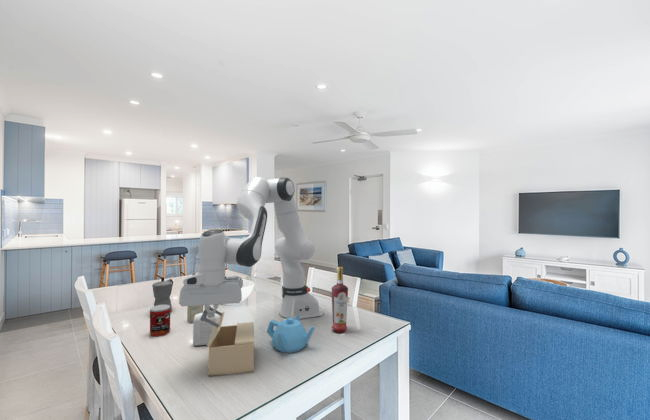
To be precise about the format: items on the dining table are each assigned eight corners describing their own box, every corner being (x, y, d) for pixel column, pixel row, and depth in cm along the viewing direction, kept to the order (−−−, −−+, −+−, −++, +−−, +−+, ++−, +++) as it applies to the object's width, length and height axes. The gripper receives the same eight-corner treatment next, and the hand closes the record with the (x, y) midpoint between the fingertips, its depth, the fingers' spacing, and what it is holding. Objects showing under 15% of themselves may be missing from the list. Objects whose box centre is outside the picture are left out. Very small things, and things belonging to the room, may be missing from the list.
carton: (253, 346, 116) (253, 321, 116) (253, 371, 99) (253, 341, 99) (215, 350, 113) (215, 324, 113) (208, 376, 95) (208, 345, 95)
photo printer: (221, 340, 122) (221, 309, 122) (219, 344, 118) (220, 313, 118) (194, 342, 120) (194, 311, 120) (191, 347, 116) (192, 315, 116)
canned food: (149, 338, 123) (149, 311, 123) (150, 331, 130) (150, 305, 130) (170, 334, 127) (170, 308, 127) (170, 328, 134) (170, 303, 134)
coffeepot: (163, 317, 146) (163, 280, 146) (145, 317, 147) (145, 280, 147) (180, 307, 162) (181, 274, 162) (163, 306, 162) (164, 273, 162)
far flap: (225, 311, 113) (208, 301, 112) (220, 328, 97) (200, 318, 95) (215, 326, 113) (198, 317, 111) (208, 347, 96) (188, 336, 94)
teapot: (300, 334, 128) (300, 309, 128) (316, 349, 115) (316, 321, 115) (265, 342, 121) (265, 315, 121) (278, 358, 108) (278, 328, 108)
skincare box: (190, 323, 139) (190, 297, 139) (186, 320, 142) (187, 295, 142) (203, 320, 143) (204, 294, 143) (200, 317, 147) (200, 292, 147)
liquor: (333, 334, 128) (334, 269, 128) (329, 328, 135) (329, 266, 135) (350, 333, 130) (350, 268, 130) (344, 326, 137) (345, 265, 137)
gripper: (243, 274, 109) (242, 312, 109) (182, 276, 105) (181, 315, 104) (242, 277, 103) (242, 318, 103) (178, 280, 98) (177, 322, 98)
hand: (211, 317), depth 104 cm, fingers closed
